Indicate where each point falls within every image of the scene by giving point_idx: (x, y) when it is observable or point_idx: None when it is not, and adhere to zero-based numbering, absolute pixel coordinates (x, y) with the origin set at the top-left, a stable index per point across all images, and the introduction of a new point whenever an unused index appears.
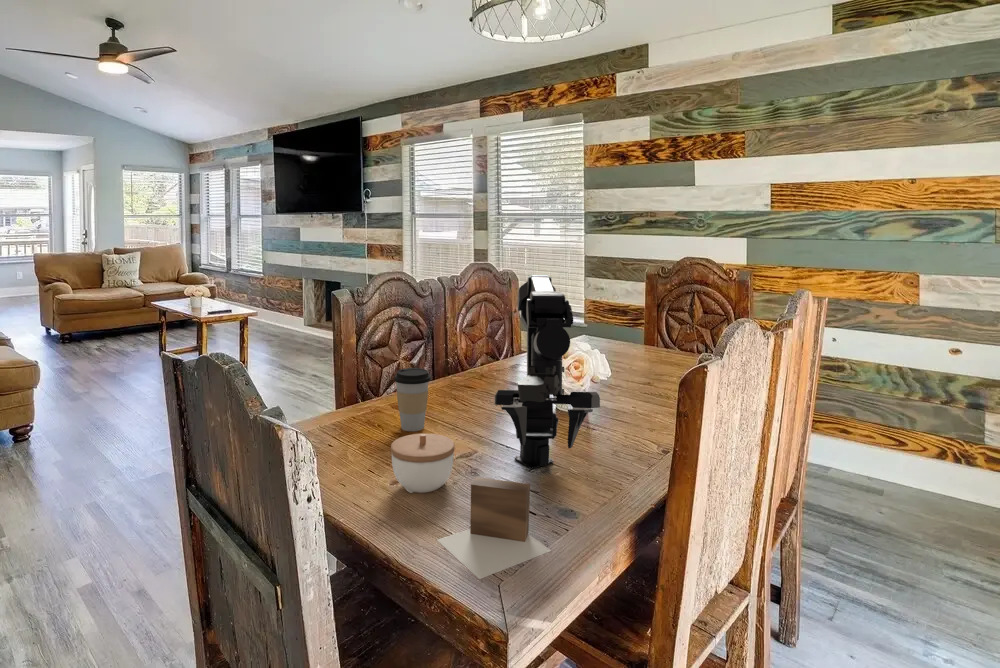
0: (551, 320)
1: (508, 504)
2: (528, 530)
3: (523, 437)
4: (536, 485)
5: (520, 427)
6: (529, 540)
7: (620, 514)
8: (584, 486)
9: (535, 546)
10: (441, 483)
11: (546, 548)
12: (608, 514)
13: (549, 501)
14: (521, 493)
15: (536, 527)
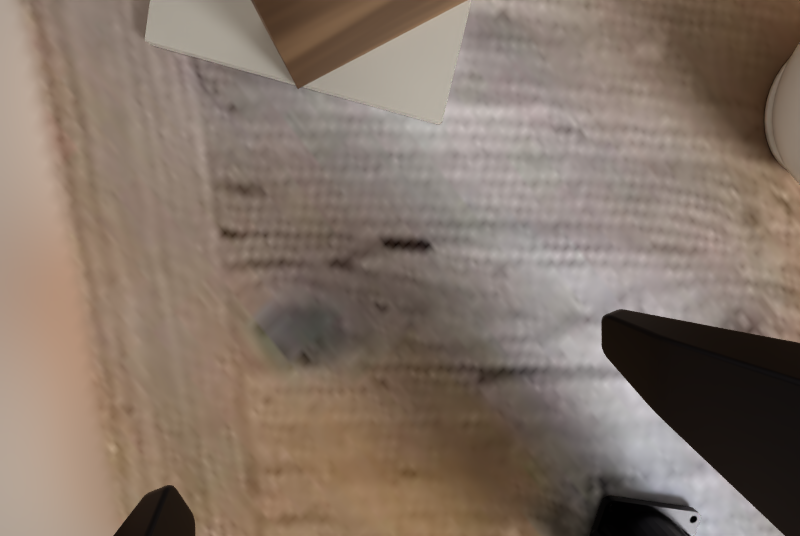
0: None
1: None
2: (296, 85)
3: (653, 359)
4: (516, 415)
5: (784, 379)
6: (256, 42)
7: (161, 459)
8: (384, 529)
9: (210, 23)
10: (782, 100)
11: (168, 39)
12: (192, 429)
13: (407, 355)
14: None
15: (320, 167)
